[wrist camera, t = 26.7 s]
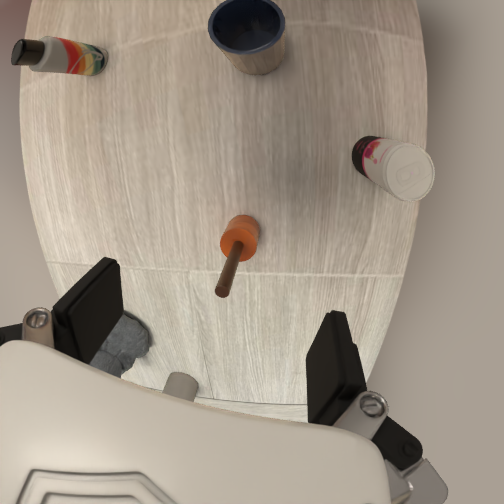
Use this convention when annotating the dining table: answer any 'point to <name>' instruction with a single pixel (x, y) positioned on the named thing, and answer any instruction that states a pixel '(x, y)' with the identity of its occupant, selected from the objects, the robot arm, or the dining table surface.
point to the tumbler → (249, 34)
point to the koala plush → (121, 347)
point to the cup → (181, 386)
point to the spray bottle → (59, 56)
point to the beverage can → (395, 166)
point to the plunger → (236, 249)
